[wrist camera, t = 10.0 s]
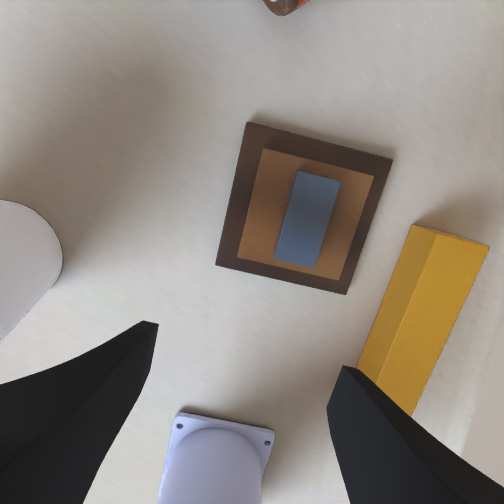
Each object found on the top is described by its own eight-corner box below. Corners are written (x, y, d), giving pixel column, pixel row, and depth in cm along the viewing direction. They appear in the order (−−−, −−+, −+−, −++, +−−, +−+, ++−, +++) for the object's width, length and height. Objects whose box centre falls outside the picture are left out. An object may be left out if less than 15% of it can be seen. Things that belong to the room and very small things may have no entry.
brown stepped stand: (342, 291, 21) (358, 311, 18) (216, 261, 21) (209, 278, 18) (388, 159, 19) (414, 158, 16) (246, 123, 18) (245, 114, 15)
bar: (383, 405, 24) (401, 438, 21) (344, 397, 24) (357, 429, 21) (456, 235, 20) (491, 246, 17) (411, 223, 20) (438, 233, 17)
